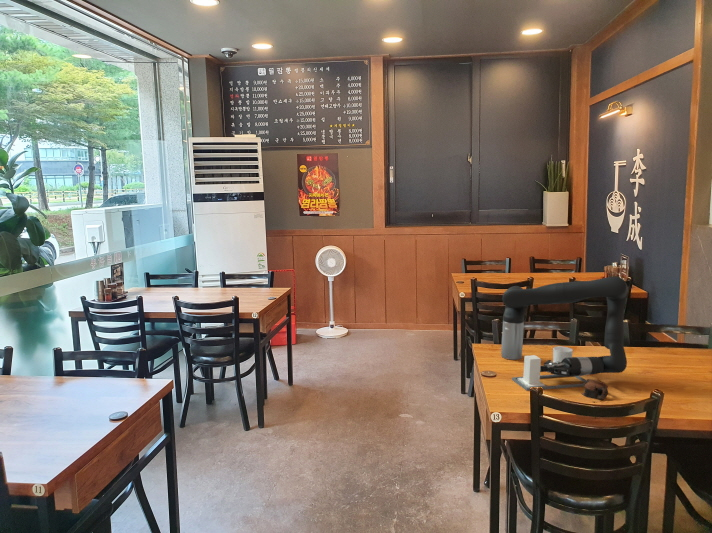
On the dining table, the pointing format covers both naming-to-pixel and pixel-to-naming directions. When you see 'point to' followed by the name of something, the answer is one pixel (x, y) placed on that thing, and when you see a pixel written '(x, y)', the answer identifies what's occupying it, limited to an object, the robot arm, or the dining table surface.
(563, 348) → the white cup
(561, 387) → the grey rectangular frame
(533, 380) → the slider post
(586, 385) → the dark brown lump
